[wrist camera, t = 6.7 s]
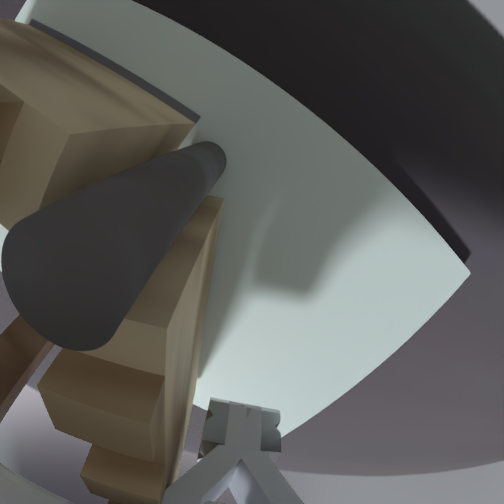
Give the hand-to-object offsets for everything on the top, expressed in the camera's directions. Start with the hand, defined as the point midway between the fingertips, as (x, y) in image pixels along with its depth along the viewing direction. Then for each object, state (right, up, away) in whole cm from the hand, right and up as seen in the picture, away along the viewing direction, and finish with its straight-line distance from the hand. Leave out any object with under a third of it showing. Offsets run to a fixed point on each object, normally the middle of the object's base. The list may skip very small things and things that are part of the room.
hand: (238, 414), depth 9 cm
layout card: (-3, +5, +2) cm, 6 cm away
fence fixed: (-4, +10, -1) cm, 11 cm away
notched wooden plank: (-2, +3, +2) cm, 4 cm away
